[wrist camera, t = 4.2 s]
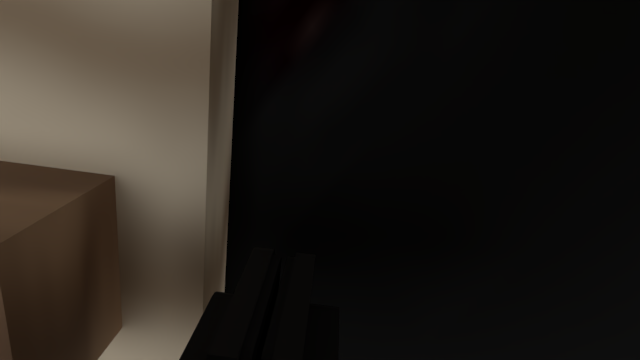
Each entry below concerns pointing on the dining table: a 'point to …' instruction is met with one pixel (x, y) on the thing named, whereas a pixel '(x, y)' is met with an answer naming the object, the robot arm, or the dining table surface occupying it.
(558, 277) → the dining table surface
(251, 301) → the robot arm
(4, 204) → the walnut block
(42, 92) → the board
